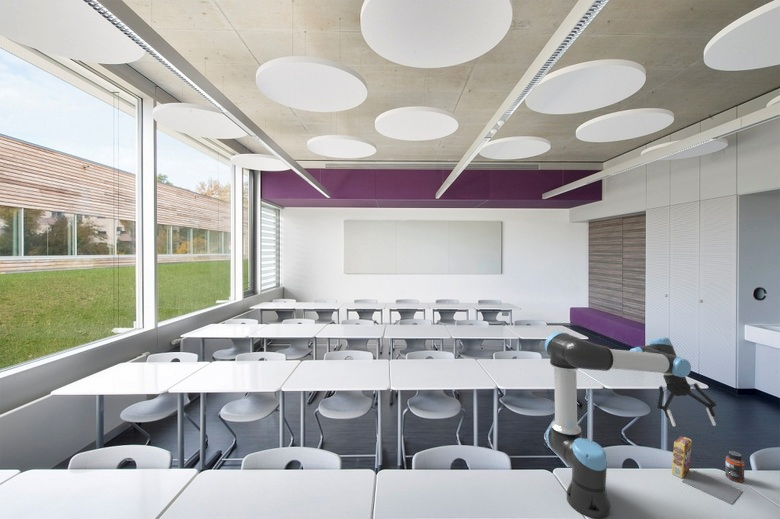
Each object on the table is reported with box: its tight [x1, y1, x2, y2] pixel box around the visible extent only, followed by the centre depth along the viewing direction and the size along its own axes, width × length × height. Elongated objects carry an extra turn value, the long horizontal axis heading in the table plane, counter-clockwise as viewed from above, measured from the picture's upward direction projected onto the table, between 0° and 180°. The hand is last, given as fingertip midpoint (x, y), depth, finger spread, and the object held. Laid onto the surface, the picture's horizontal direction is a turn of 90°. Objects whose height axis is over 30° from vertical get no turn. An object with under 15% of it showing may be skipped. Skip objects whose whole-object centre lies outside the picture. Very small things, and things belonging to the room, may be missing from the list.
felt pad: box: [681, 470, 743, 505], centre depth 149 cm, size 16×14×1 cm
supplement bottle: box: [724, 450, 745, 483], centre depth 155 cm, size 6×6×11 cm
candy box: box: [671, 435, 693, 479], centre depth 158 cm, size 9×4×15 cm, turn 123°
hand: (693, 425), depth 147 cm, fingers open, 13 cm apart
